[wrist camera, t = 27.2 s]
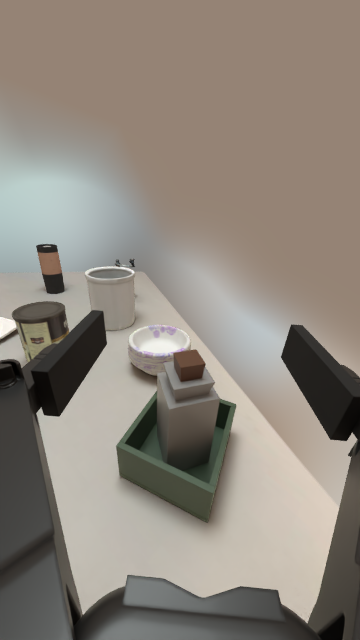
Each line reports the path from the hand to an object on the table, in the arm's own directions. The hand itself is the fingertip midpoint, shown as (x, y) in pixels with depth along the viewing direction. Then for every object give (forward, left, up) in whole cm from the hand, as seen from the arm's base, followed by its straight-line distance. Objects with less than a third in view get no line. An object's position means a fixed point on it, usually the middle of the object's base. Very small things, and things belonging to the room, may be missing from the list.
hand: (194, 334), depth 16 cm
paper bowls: (+28, +17, -28) cm, 43 cm away
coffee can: (+17, +42, -28) cm, 54 cm away
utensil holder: (+42, +42, -28) cm, 66 cm away
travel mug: (+54, +84, -28) cm, 104 cm away
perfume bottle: (+9, +3, -27) cm, 29 cm away
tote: (+9, +3, -28) cm, 29 cm away
